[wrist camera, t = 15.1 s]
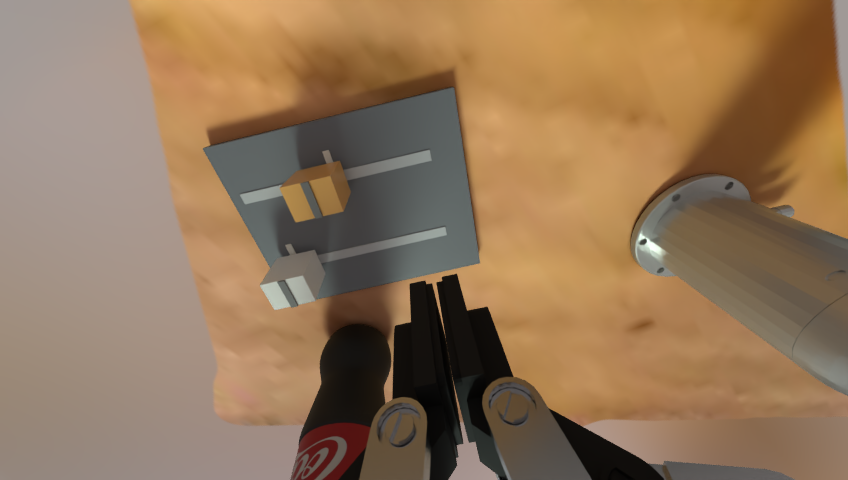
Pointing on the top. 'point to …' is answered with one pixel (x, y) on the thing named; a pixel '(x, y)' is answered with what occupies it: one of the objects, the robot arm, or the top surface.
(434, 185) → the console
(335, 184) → the fader orange
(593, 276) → the top surface
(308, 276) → the fader white
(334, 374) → the cola bottle
